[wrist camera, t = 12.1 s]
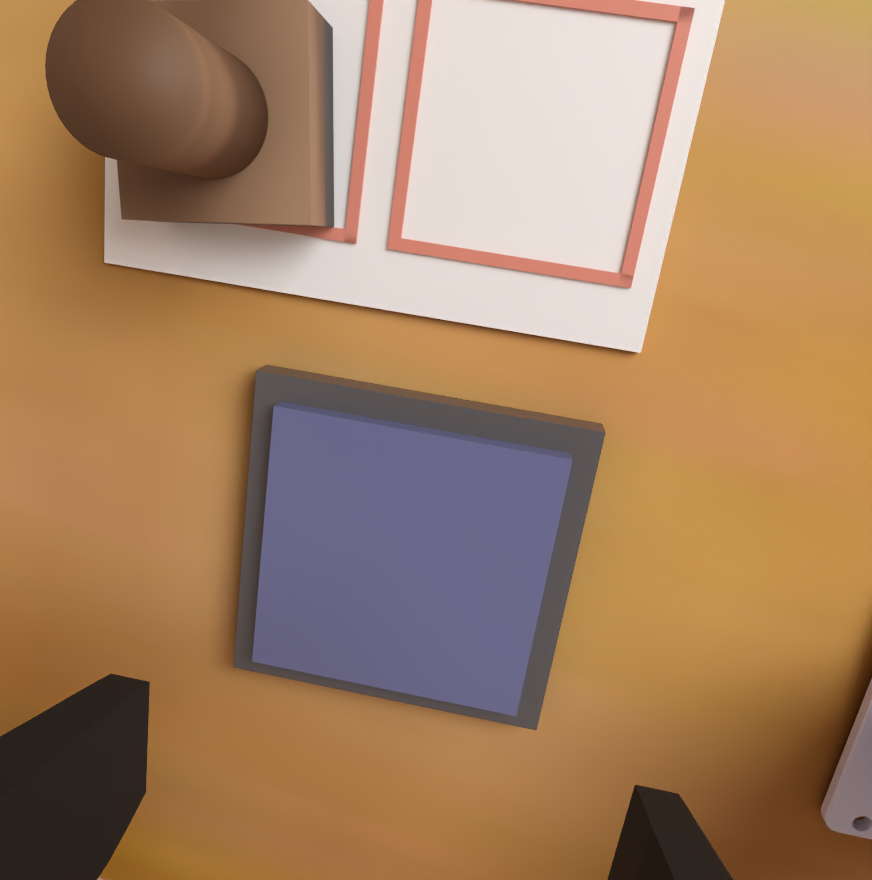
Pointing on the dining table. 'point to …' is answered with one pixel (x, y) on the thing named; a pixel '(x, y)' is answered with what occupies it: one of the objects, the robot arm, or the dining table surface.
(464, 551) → the ink pad
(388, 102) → the sheet
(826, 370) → the dining table surface
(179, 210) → the stamp
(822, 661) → the dining table surface
